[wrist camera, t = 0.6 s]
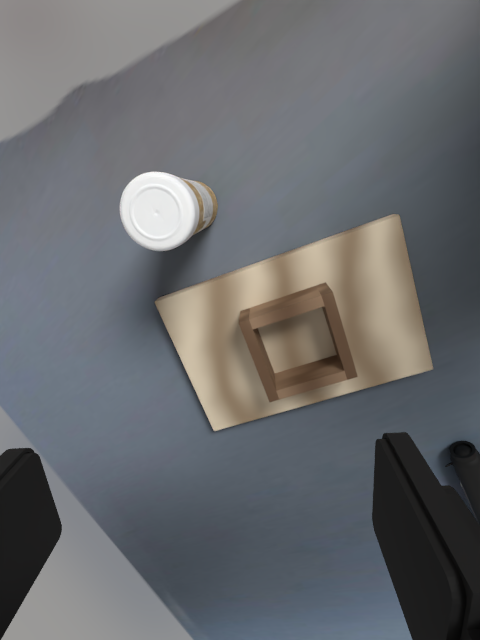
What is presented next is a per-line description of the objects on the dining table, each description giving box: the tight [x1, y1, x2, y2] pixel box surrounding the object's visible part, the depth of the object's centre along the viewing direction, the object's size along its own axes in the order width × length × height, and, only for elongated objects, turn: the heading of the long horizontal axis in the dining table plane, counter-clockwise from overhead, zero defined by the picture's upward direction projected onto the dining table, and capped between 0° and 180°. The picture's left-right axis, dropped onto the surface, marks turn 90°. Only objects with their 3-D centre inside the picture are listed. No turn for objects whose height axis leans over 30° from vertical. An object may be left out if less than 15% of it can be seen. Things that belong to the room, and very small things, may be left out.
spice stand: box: [155, 214, 433, 431], centre depth 35 cm, size 24×16×5 cm, turn 110°
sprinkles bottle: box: [120, 172, 218, 251], centre depth 27 cm, size 5×5×14 cm
